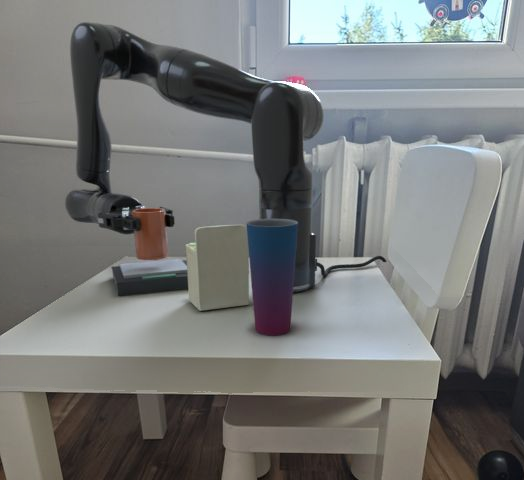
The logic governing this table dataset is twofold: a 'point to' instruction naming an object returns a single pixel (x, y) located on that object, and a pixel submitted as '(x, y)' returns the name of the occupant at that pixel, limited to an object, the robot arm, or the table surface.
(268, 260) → the cup
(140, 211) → the tumbler
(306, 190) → the robot arm
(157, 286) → the scale
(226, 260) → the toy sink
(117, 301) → the table surface
